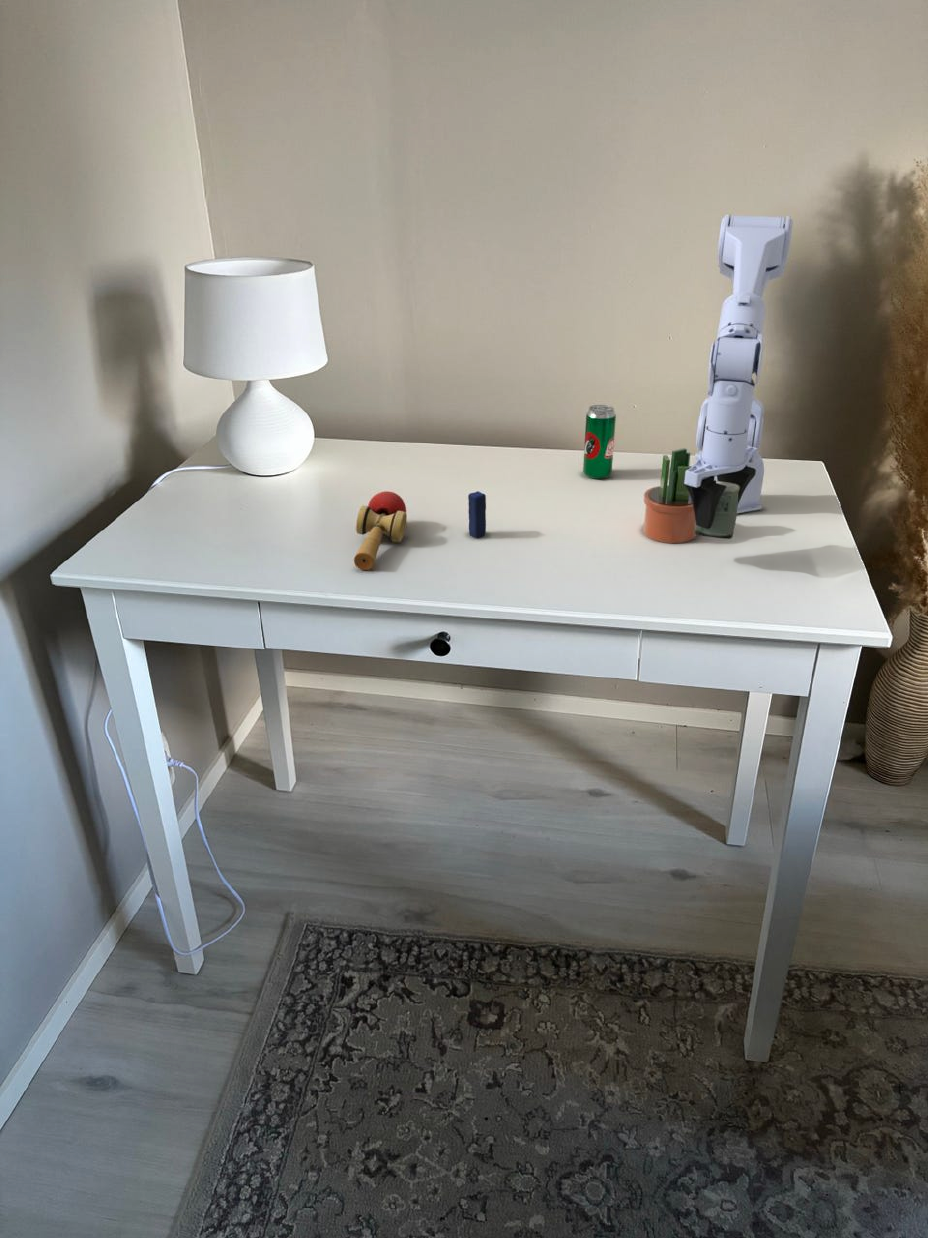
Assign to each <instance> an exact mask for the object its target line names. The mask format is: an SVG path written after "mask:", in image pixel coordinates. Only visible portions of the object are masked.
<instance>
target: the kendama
mask: <svg viewBox="0 0 928 1238" xmlns="http://www.w3.org/2000/svg"><path fill="white" fill-rule="evenodd" d="M355 523H356V524H355V530H356V533H357V534H358V535H363V536H364V535H366V534H367V535H366V537H365V538H364V540H363V541H362V544H361V546H359V547H360V548H359V549H358V551H357V552H356V554H355V555H354V557H353V563H354V565H355V567H357V568H358V569H359V570H361V571H369V570H371V569H373V567H374V566H375V562H376V558H377V555H378V551H379V548H380V545H381V541H382V536H383V534H384V535H386V536H387V537H389V539H390V540H391V541H392V543H398V544H400V543H401V542H402V540H403V538H404V535H405V531H406V526H407V505H406V503H405V501H404V499H403V497H401V496H400V495H399V494H397V493H396V492H393V491H388V490H387V491H385V490H384V491H381V492H378V493H376V494H374V496H373V497H372V498H371V499H370V501H369V502H368V505H362V506H360V508H359V511H358V513H357V518H356V522H355Z"/></svg>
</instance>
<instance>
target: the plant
mask: <svg viewBox="0 0 928 1238" xmlns="http://www.w3.org/2000/svg"><path fill="white" fill-rule="evenodd" d="M662 456H663V457H662V464H661V475H660V485H659V486H653V487H650V488H649V489H646V490H645V492H644V493H643V503H644V505H645V508H644V519H643V520H644V521H643V530H642V531H643V533H644V535H645V536H646V537H648V538H649V539H651V540H653V541H656V542H660V543H666V544H682V543H688V542H691V541H692V540H694V539H695V538H696V536H697V535H696V534H695V524H696V521H695V514H694V508H693V503H692V499H691V496H690V494H689V491H688V489H687V487H686V486H685V484H684V482H685V473H686V470H688V469H690V468H691V467H692V465H690V461H691V452H689V451H688V449H687V448H685V447H684V448H678V449H674V450H672V451H671V457H670V458H669V456H668V455H667V454H663V455H662Z"/></svg>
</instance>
